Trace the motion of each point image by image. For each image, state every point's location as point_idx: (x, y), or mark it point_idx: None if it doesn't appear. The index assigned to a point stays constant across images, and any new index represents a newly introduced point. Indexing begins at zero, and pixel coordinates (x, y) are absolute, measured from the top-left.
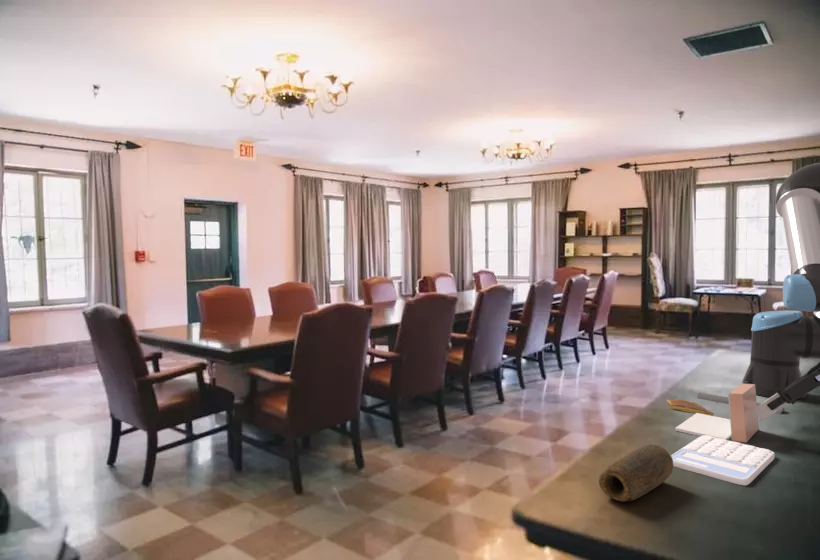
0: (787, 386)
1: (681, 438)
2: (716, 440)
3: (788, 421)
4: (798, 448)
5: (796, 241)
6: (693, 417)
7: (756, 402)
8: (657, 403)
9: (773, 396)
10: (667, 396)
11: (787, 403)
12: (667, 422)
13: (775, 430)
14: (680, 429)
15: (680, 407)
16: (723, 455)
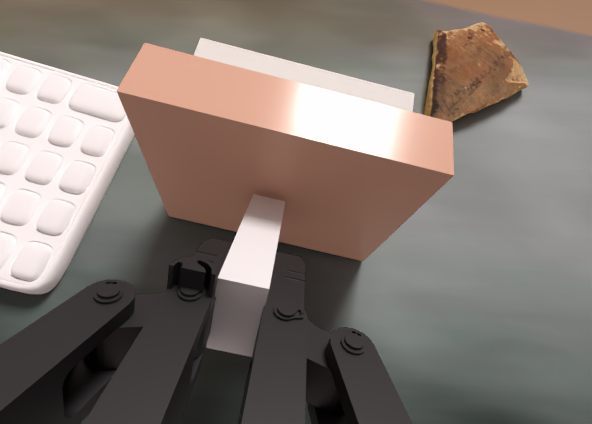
0: (341, 346)
1: (129, 56)
2: (74, 122)
3: (558, 369)
4: (202, 383)
5: None
6: (352, 83)
7: (402, 220)
8: (465, 14)
9: (227, 259)
10: (564, 37)
11: (209, 341)
12: (278, 30)
13: (398, 316)
14: (196, 50)
15: (435, 54)
16: None
